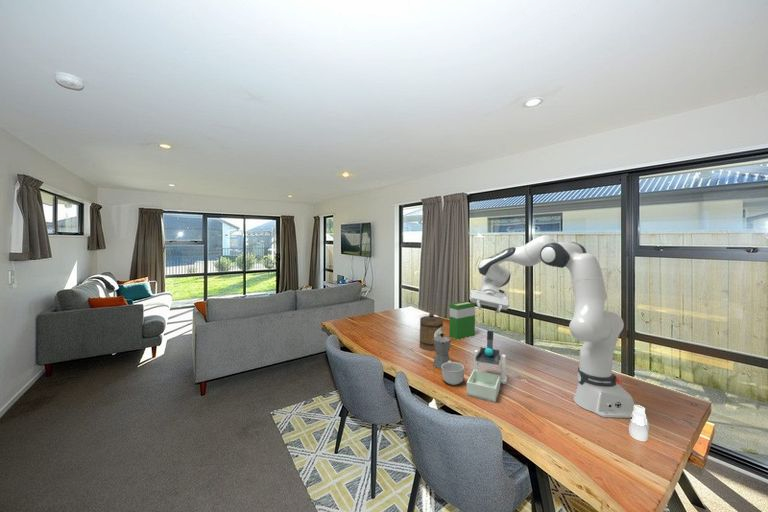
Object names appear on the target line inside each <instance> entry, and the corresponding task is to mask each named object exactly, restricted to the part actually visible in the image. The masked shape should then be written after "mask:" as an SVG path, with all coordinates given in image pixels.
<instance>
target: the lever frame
mask: <svg viewBox="0 0 768 512" xmlns="http://www.w3.org/2000/svg"><path fill="white" fill-rule="evenodd" d="M478 352H479V349H475V350H474V352H473V353H474V354H473V356H474V357H473V370H477V371H479V361H475V360H476V355H477V354H478ZM506 359H507V357H506V354H501V359H500V361H501V367H500V368H501V371H500V374H497V373H496V374H497V375H500V384H504V385H506V384H507V380H508V376H507V375H506V364H507V363H506V362H507V361H506ZM481 371H482V372H484V371H483V370H481ZM486 372H487V371H486ZM487 373H489V372H487ZM491 373H492V372H491ZM492 374H494V373H492Z"/></svg>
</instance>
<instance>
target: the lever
mask: <svg viewBox="0 0 768 512" xmlns="http://www.w3.org/2000/svg"><path fill="white" fill-rule="evenodd" d="M486 333H487V334H486V338H487V339H486V341H487V342H486V347H482V346H481V347H480V349H479V350H478V354H477V355H476V360H475V361H478V363H479V362H480V363H484V364H485V363H486V364H489V365H491V364H492V365H497V366H498V365H499V364H500V361H501V359H502V356H501V354H500V349H494V331H493V330H487V331H486ZM486 348H491V349H492V350H493V355H492V356H487V355H486V354H485V349H486Z"/></svg>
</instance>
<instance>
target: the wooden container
mask: <svg viewBox="0 0 768 512" xmlns="http://www.w3.org/2000/svg"><path fill="white" fill-rule="evenodd" d="M419 323H420V325H419V347H420V349H423V350H426V351H435V346H434V338H435V337H438V336H439V335H440V334H444V319H443V318H442V317H440V316H435V314H434V313H433V312H430V313H428V316H421V317H420V319H419Z"/></svg>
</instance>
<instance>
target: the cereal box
mask: <svg viewBox="0 0 768 512" xmlns="http://www.w3.org/2000/svg"><path fill="white" fill-rule="evenodd" d="M475 326H476V303H473V302H469V300H464V301H459V302H454V303H453V302H452V303H449V338H451V337H452V338H451V339H453V338H455V339H454V340H456V339H459V340H462V339H461V338H463V339H466V338H465V337H467V338H471V337H474V335H476V334H475V333H476V330H475V329H476V327H475ZM470 336H471V337H470Z"/></svg>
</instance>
